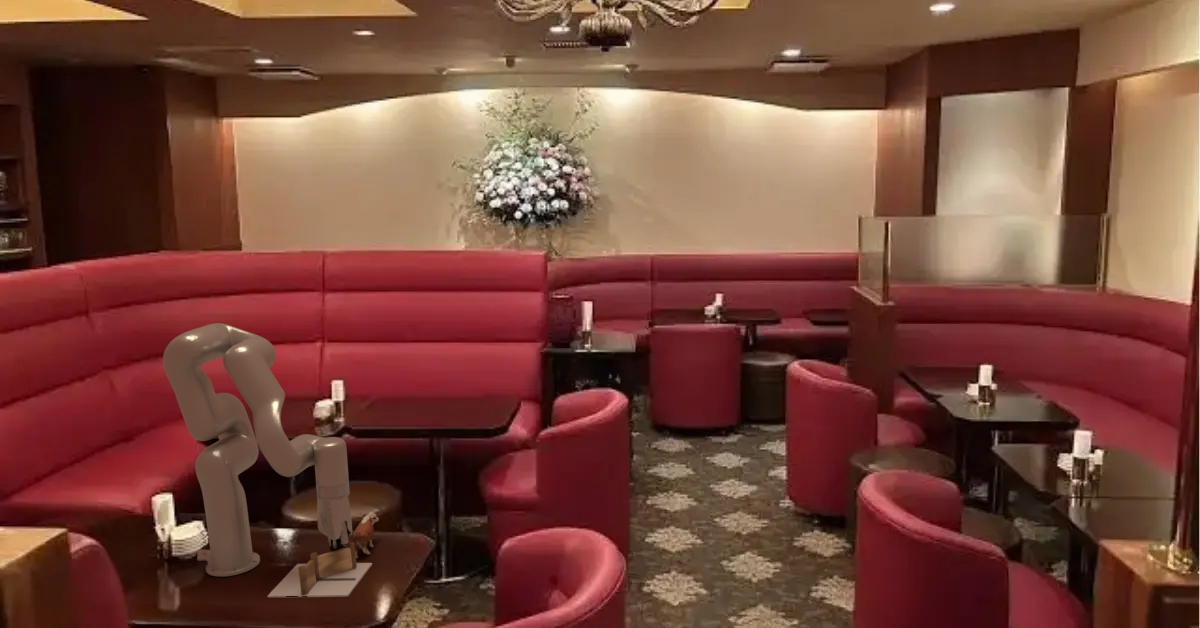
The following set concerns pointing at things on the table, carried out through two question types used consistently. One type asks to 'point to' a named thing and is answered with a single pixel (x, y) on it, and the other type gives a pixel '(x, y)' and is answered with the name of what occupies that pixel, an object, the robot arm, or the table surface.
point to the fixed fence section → (307, 577)
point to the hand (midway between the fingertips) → (338, 561)
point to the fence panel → (334, 561)
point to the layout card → (322, 583)
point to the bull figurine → (364, 533)
